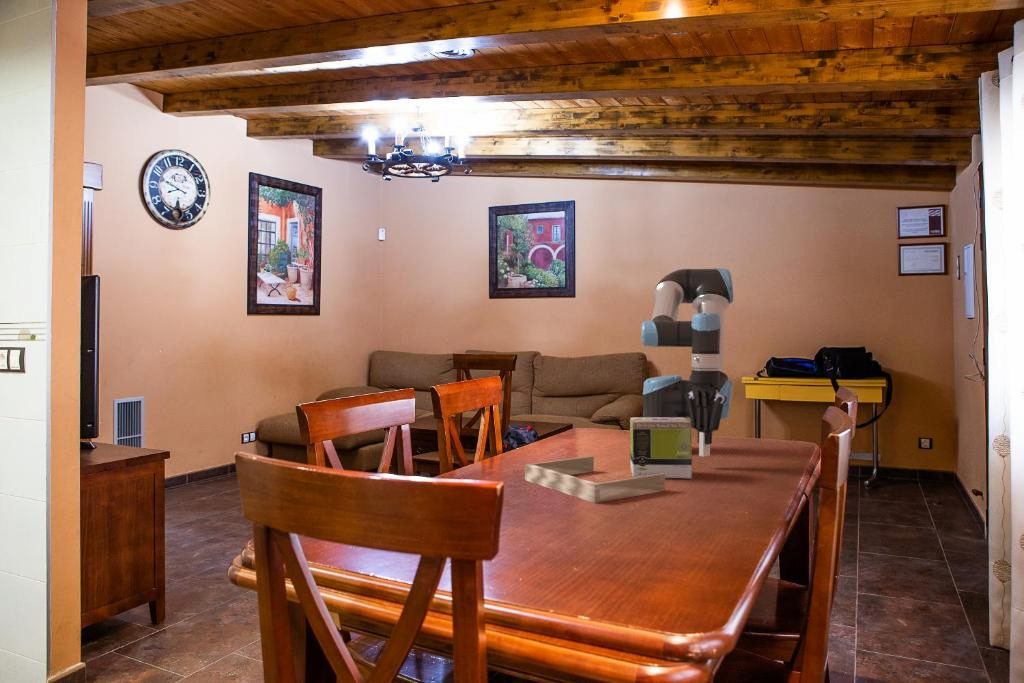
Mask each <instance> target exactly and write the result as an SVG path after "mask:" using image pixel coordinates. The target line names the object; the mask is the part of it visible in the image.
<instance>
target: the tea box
mask: <svg viewBox="0 0 1024 683" xmlns="http://www.w3.org/2000/svg"><path fill="white" fill-rule="evenodd" d="M629 433H630V435H629V436H630V437H629V438H630V440H629V441H630V442H629V443H630V446H629V447H630V448H629V449H630V450H629V452H630V454H629V455H630V456H629V457H630V458H629V459H630V461H629V462H630V471H631V474H632V478H634V477H641V476H647V475H653V474H660V473H663V474H665V479H693V455H692V454H693V452H692V451H693V449H692V447H693V446H692V444H693V443H692V442H693V441H692V440H693V438H692V426H691V420H690V419H688V418H683V417H678V418H670V417H643V416H642V417H638V416H637V417H630V419H629Z"/></svg>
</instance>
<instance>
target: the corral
mask: <svg viewBox="0 0 1024 683" xmlns="http://www.w3.org/2000/svg"><path fill="white" fill-rule="evenodd" d="M594 458H595V457H594V456H592V455H589V456H581V457H573V458H566V459H565V458H564V459H557V460H550V461H542V462H536V463H535V462H533V463H527V464H524V481H525V480H526V481H527V482H529V483H531V484H535V485H538V486H542V487H544V488H548V489H550V490H553V491H557V492H558V493H559V492H560V493H563V494H565V495H570V496H571V497H574V498H578V499H581V500H583V501H587V502H589V503H593V504H598V503H603V502H610V501H614V500H619V499H620V500H621V499H625V498H632V497H637V496H643V495H650V494H655V493H659V492H660V493H661V492H665V490H666V486H665V485H666V478H665V474H663V473H660V474H653V475H647V476H641V477H628V478H624V479H616V480H611V481H610V480H609V481H602V482H594V481H590V480H587V479H583V478H579V477H576V476H574V475H578V474H586V473H592V472H594V469H595V468H594V465H595V464H594V462H595V461H594V460H595V459H594ZM526 481H525V482H526Z"/></svg>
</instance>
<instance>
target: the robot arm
mask: <svg viewBox="0 0 1024 683" xmlns="http://www.w3.org/2000/svg"><path fill="white" fill-rule="evenodd" d="M653 294H654V299H655V303H654V307H653V311H652V316H651V319H650V320H646V321H643V322H642V324H641V330H640V331H641V333H640V336H641V344H642V345H643V346H645V347H653V348H657V347H658V348H661V347H662V348H669V347H670V348H672V347H673V348H674V347H675V348H678V347H679V348H691V368H692V369H693V370H691V372H690V374H689V378H688V379H683V376H682V375H681V374H677V375H676V374H675V375H670V374H669V375H663V376H655V377H650V378H647V379H646V380H644V381H643V389H642V390H643V392H642V396H643V397H642V398H643V400H642V401H643V402H642V408H643V409H642V418H643V417H670V418H678V417H683V418H686V419H689V421H690V422H691V429H694V430H696V431H697V443H698V456H699V457H709V456H711V445H712V443H713V440H712V439H713V432H715V431H719V428H720V424H721V420H725V419H727V418H729V414H730V411H731V407H732V406H731V405H732V398H733V392H734V382H733V381H732V380H729V375H728V374H727V373H726V372H724V340H725V339H724V335H725V334H724V333H725V332H724V328H725V321H724V320H725V313H724V312H725V311H727V310H728V308H729V305H730V304H733V303H734V289H733V279H732V274H731V272H730V270H729V269H727V268H717V267H715V268H681V269H677V270H673V271H672V272H669V273H668V274H667V275H665V276H664V277H662V279H660V280H659V281H658V283H657V284H656V286H655V288H654V293H653ZM681 304H691V305H692V306H691V307H692V308H693V310H694V311H695V312H696V313H694V314H693V315H692V316H691V320H678V317H679V311H680V310H679V309H680V305H681Z"/></svg>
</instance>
